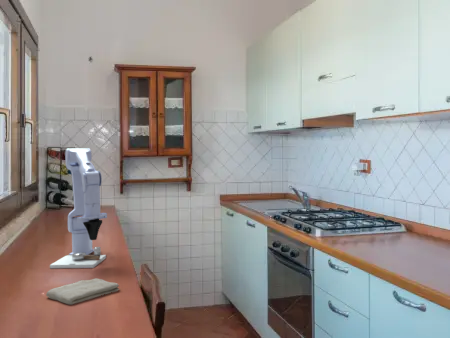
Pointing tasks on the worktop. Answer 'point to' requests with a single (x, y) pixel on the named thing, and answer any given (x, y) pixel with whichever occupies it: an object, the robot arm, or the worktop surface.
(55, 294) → the washcloth
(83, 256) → the silver piece
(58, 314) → the worktop surface
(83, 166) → the robot arm
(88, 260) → the base
